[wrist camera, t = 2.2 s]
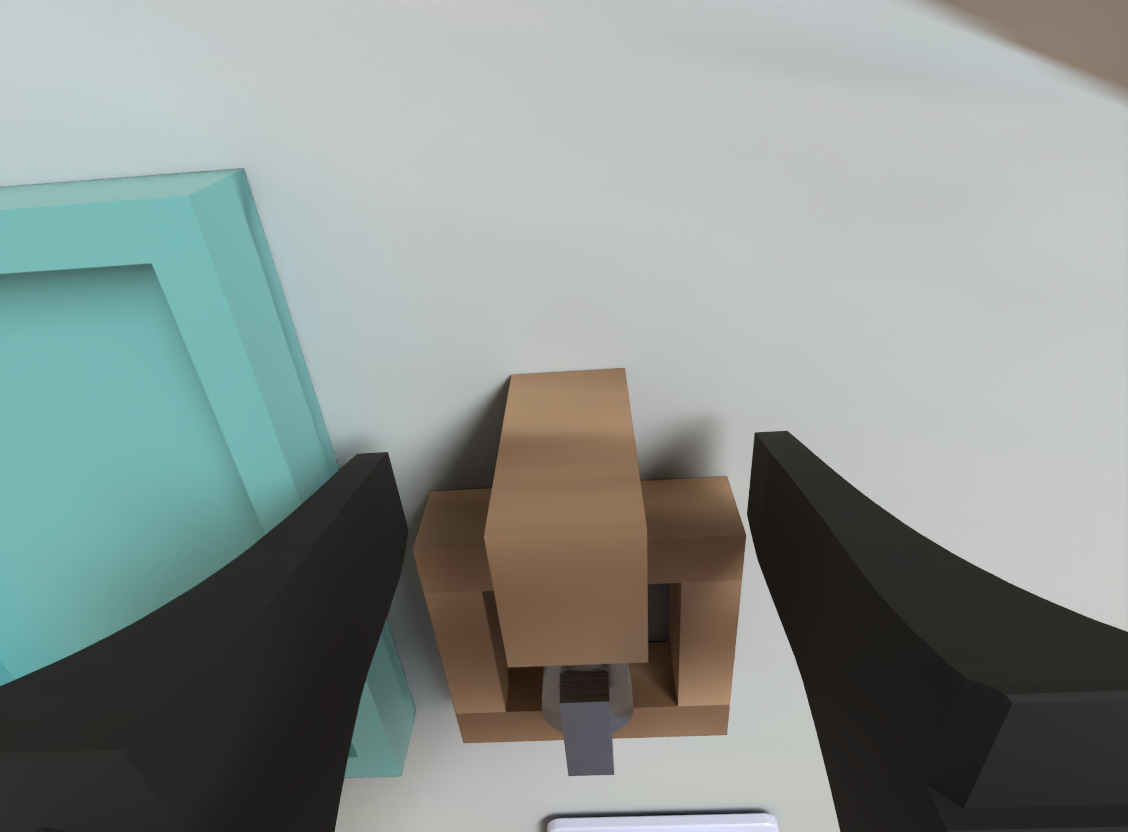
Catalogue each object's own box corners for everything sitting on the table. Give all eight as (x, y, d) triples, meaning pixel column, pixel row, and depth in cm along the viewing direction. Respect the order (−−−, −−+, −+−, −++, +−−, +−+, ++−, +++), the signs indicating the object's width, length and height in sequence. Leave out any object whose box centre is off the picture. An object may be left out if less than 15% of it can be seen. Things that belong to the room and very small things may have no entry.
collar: (713, 669, 19) (753, 861, 15) (473, 678, 19) (444, 867, 15) (735, 361, 14) (806, 521, 9) (404, 380, 14) (331, 543, 10)
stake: (624, 621, 18) (636, 774, 14) (551, 624, 18) (545, 776, 14) (622, 551, 17) (635, 701, 13) (543, 554, 17) (534, 704, 13)
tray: (415, 711, 20) (401, 776, 19) (42, 724, 21) (-5, 787, 19) (243, 167, 12) (187, 195, 10) (-377, 215, 12) (-527, 248, 11)
